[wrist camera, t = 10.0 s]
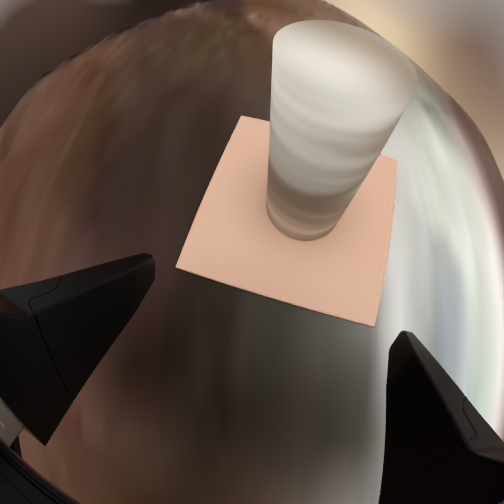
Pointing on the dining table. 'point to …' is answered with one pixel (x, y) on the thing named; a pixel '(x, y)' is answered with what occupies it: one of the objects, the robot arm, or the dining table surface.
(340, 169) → the white cylinder
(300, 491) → the dining table surface
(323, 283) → the placemat
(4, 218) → the dining table surface
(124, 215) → the dining table surface
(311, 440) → the dining table surface
